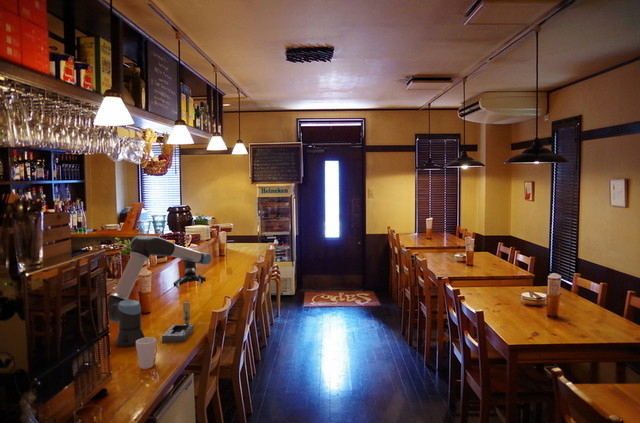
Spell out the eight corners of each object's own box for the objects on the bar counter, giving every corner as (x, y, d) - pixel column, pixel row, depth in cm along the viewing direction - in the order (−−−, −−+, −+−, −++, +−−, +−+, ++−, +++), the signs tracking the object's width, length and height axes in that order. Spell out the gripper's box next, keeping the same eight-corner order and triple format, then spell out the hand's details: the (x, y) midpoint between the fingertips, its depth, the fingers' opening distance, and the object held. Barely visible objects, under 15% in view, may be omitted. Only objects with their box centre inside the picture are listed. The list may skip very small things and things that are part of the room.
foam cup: (156, 368, 217) (156, 342, 216) (136, 371, 213) (135, 345, 213) (156, 361, 226) (155, 336, 225) (136, 363, 222) (135, 338, 221)
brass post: (179, 325, 282) (179, 302, 281) (188, 323, 287) (188, 300, 286) (184, 327, 278) (184, 304, 277) (193, 325, 282) (193, 302, 282)
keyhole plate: (172, 330, 272) (172, 324, 271) (193, 330, 272) (193, 324, 272) (162, 342, 252) (161, 335, 252) (183, 342, 252) (183, 335, 252)
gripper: (209, 277, 305) (210, 288, 285) (172, 283, 300) (169, 295, 280) (208, 266, 304) (208, 277, 283) (170, 272, 298) (168, 284, 278)
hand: (189, 286), depth 281 cm, fingers open, 13 cm apart
